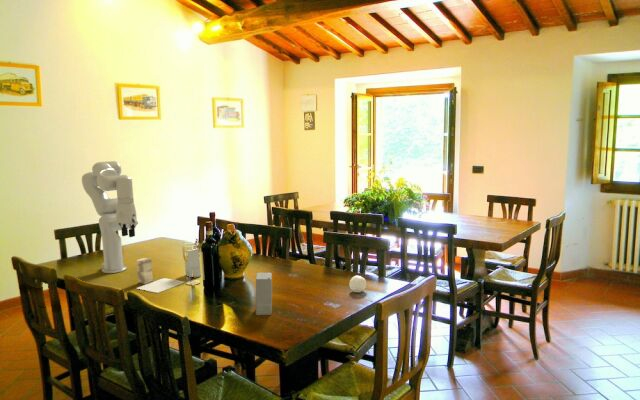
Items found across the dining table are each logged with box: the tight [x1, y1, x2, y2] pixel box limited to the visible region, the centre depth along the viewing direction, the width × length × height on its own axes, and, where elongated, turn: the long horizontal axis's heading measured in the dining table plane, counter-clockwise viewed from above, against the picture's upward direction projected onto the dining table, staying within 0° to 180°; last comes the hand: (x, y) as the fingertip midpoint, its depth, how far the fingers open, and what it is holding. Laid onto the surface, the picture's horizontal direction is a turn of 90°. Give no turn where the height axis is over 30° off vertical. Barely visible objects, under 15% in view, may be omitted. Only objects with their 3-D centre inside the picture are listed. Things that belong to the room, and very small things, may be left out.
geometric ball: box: [348, 275, 367, 294], centre depth 218 cm, size 8×8×8 cm
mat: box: [135, 277, 186, 294], centre depth 234 cm, size 15×18×1 cm
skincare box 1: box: [183, 247, 202, 278], centre depth 248 cm, size 8×6×15 cm
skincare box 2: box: [255, 272, 273, 316], centre depth 196 cm, size 8×7×16 cm
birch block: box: [135, 257, 154, 285], centre depth 239 cm, size 5×5×12 cm
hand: (128, 235), depth 241 cm, fingers open, 4 cm apart
